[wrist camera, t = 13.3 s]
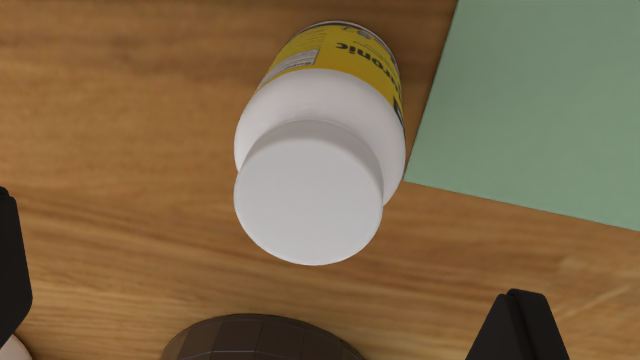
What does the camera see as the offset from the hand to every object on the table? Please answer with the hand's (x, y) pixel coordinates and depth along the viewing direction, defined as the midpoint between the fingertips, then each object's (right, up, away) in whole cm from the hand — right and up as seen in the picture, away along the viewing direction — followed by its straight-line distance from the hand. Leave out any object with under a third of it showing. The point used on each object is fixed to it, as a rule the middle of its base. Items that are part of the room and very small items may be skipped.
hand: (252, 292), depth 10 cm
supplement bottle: (+2, +7, +12) cm, 14 cm away
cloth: (+12, +7, +10) cm, 17 cm away
